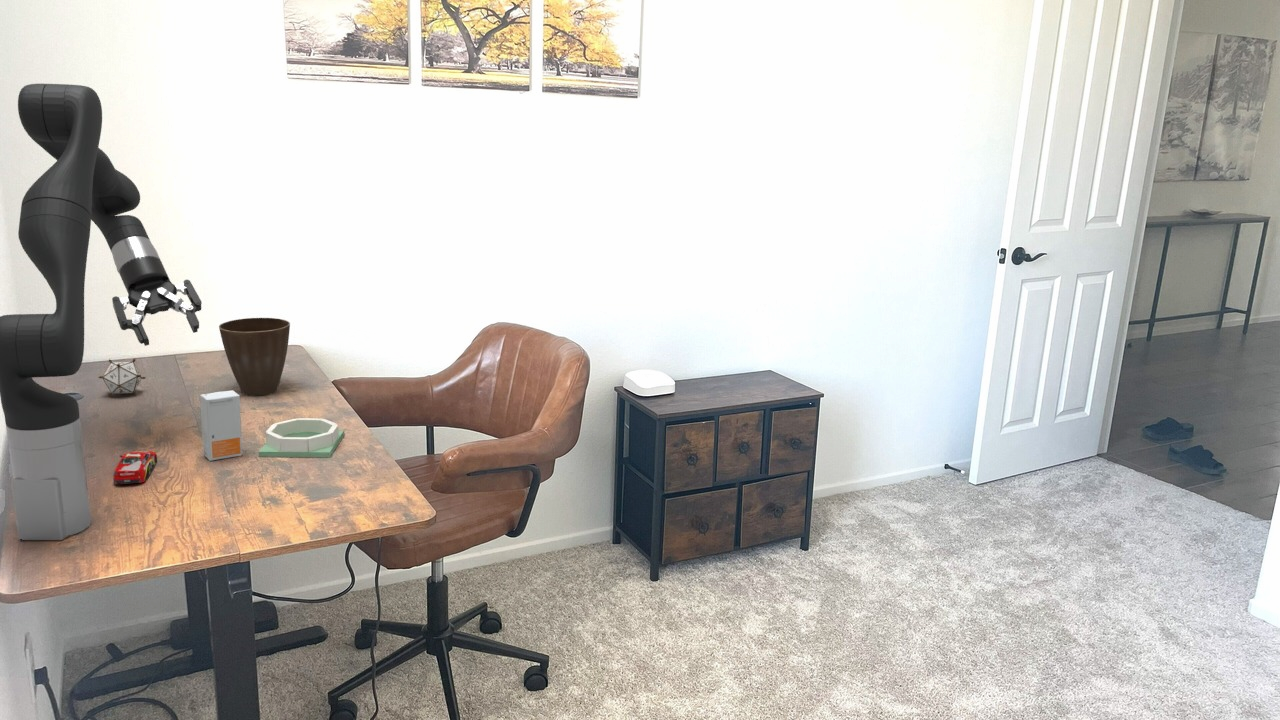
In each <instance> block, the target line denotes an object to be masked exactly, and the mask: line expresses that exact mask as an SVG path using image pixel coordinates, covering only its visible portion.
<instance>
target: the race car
mask: <svg viewBox="0 0 1280 720" xmlns="http://www.w3.org/2000/svg"><path fill="white" fill-rule="evenodd" d="M157 457H158V455H157V453H156V452H155V451H153V450H133V451H132V452H128V453H127V452H126V453H124V454H123V455H122V454H121V455H119V458H120V459H119V462H118V464H117V466H116V467H115V469H114V471H113V484H115V485H126V484H127V485H128V484H138V483H140V484H141V483H144V482H146V480H147V481H148V479H149V477H150V476H151V473H152V472H153V469H155V466H156V465H157V462H158V458H157Z"/></svg>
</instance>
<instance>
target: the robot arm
mask: <svg viewBox="0 0 1280 720" xmlns="http://www.w3.org/2000/svg"><path fill="white" fill-rule="evenodd" d="M17 110H18V111H17V112H18V117H19V120H20V123H21V125H22V127H23V129H24V131H25V132H26V133H27V135H28V136H29V137H30V138H31V140H32V141H34V142H35V144H37V145H38V146H40V147H41V148H42V149H43V150H44V151H45V152H46V153H48V154H49V155H50V156H51V157H53V159H55V160H56V162H54V164H52V166H51V167H48V169H46V171H45V172H44V173H43V174H41V176H39V177H38V178H37V179H36V181H34V183H32V185H30V187H29V188H28V190H27V191H26V192H25V194H24V195H23V198H22V201H21V205H20V213H19V214H20V215H19V222H18V223H19V224H18V235H17V236H18V241H19V243H20V245H21V247H22V250H23V251H24V253H25V254H26V255H27V256H28V257H27V258H28V259H29V260H30V261H31V262H32V264H33V265H34V267H36V268H37V270H38V271H39V272H40V274H41V275H42V277H43V278H44V279H45V281H46V283H47V284H48V286H49V288H50V289H51V291H52V293H53V295H54V298H55V303H56V304H55V311H54V312H53V313H25V314H24V313H20V314H17V313H16V314H6V315H4V314H3V315H1V316H0V404H1V408H2V412H3V415H4V421H5V423H4V424H5V427H6V434H7V441H8V444H7V445H8V450H9V451H8V453H9V458H10V467H11V474H12V480H11V482H10V485H11V493H12V500H13V507H14V508H13V509H14V515H15V523H16V529H17V531H16V532H17V536H18V537H17V539H18V540H19V539H22V540H21V541H62V540H64V539H66V538H67V537H69V536H68V535H70V536H73V535H76V534H78V533H80V532H83V531H85V530H86V529H88V527H90V525H91V523H92V519H91V518H92V516H91V507H90V498H89V489H88V481H87V480H88V479H87V472H86V464H85V463H86V462H85V454H84V453H85V452H84V446H83V445H84V444H83V436H82V435H83V433H82V427H81V426H82V425H81V418H80V408H79V403H78V401H77V399H76V398H74V397H73V396H71V395H69V394H65V393H61V392H57V391H55V390H52V389H49V388H46V387H44V386H42V385H41V384H39V383H37V382H36V381H34V379H33V378H57V377H58V378H59V377H69V376H73V375H75V374H76V373H77V372H78V371H79V370H80V368H81V366H82V364H83V363H82V362H83V361H84V360H83V358H84V353H85V352H84V351H85V283H86V270H87V261H88V259H87V258H88V253H89V252H88V251H89V245H90V244H89V243H90V237H91V225H92V222H93V223H94V224H95V226H96V227H97V228H98V229H99V231H100V232H101V234H102V235H103V237H104V238H105V241H106V243H107V245H108V248H109V249H110V253H111V256H112V260H113V262H114V264H115V267H116V271H117V273H118V274H119V276H120V279H121V281H122V283H123V285H124V287H125V289H126V292H127V294H128V295H127V296H126V297H119V296H116V295H115V296H113V297H112V299H111V300H112V301H111V302H112V307H113V309H114V313H115V316H116V319H117V323H118V324H119V325H118V326H119V327H120V330H122V331H127V330H132V331H134V333H135V336H136V339H137V341H138V343H139V344H140V345H141V344H142V345H144V346H145V347H146V346H150V340H149V337H148V335H147V333H146V331H145V328H144V326H143V324H142V323H143V322H144V321H145V319H146V316H147V315H149V314H150V315H151V316H152V315H155V314H158V313H159V312H162V313H163V312H167V311H169V310H170V309H171V310H173V311H175V312H177V313H181V314H183V315H185V316H186V317H185V318H186V320H187V322H188V325H189V326H190V329H191V331H192V333H193V334H194V333H198V329H200V321H199V319H198V317H197V315H196V313H197V312H200V311H202V304H203V303H202V300H201V298H200V296H199V294H198V292H197V291H196V290H195V289H196V288H195V287H194V285H193V283H192V282H191V280H190V279H184V280H183V282H182V283H179V284H174V283H172V281H171V279H170V278H169V276H168V273H167V271H166V269H165V267H164V264H163V261H162V260H161V257H160V256H159V253H158V252H157V249H156V248H155V247H154V245H153V244H152V242H151V240H150V237H149V235H148V232H147V230H146V228H145V227H144V224H143V223H142V221H141V220H140V218H138V217H136V216H134V215H131V214H124V213H127V212H132V211H134V210H135V209H136V208H137V207H139V204H140V202H141V195H140V194H141V193H140V191H139V189H138V187H137V186H136V184H135V183H134V182H133V180H131V179H130V177H128V176H127V175H126V174H124V173H123V172H121V171H120V170H117V168H115V166H114V164H113V163H112V161H111V159H110V158H109V156H108V155H107V154H106V152H104V151H103V149H101V148H99V147H100V140H101V135H102V134H101V133H102V129H103V108H102V103H101V99H100V97H99V95H98V93H97V92H96V91H95V89H94V88H92V87H89V86H86V85H80V84H67V83H66V84H64V83H63V84H62V83H30V84H26V85H24V86H23V87H22V88H21V89H20V91H19V93H18V96H17ZM123 214H124V215H123ZM178 292H179V293H181V294H182V295H184V296H187V298H188V300H189V302H190V303H191V304H190V303H189V302H187V301H184V300H183V299H182V298H181V297H180V296H177V293H178ZM128 304H129V306H130V305H131V306H133V307H134V308H136V309H135V311H134V314H133V317H132V319H129V318H128V319H127V316H126V313H125V310H126V309H127V308H128V307H127V305H128Z"/></svg>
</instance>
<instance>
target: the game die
mask: <svg viewBox="0 0 1280 720" xmlns="http://www.w3.org/2000/svg"><path fill="white" fill-rule="evenodd" d="M108 362H109V363H110V364H109V365H108V367H107V368H106V370H105V372H104V373H103V375H99V376H98V379H102V380H103V382H104V383H105V385H106V387H107V389H108V390H109V392H110V393H109V395H108V396H109V398H111V397H112V396H113V394H114V395H115V394H116V395H117V394H133V396H135V395H136V396H137V393H136V390H137V388H138V387H139V384H140V383H141V381H142V380H145V379H146V377H145V376H142V375H141V373H140V371H139V369H138V368H137V365H136V363H135V362H136V358H133V359H132V360H131V361H112V360H111V359H110V358H109V359H108Z"/></svg>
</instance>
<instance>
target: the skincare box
mask: <svg viewBox="0 0 1280 720" xmlns="http://www.w3.org/2000/svg"><path fill="white" fill-rule="evenodd" d="M199 402H200V415H201V416H200V418H201V420H200V421H201V431H202V432H201V433H202V434H201V435H202V436H201V437H202V449H203V450H202V451H203V455H204V457H206V459H208V461H209V462H213V461H215V460H217V461H218V460H222V459H227V458H228V459H230V458H235V457H242V456H243V440H242V439H243V438H242V437H243V436H242V435H243V434H242V420H241V419H242V417H241V396H240V394H238V393H237V392H235V390H223V391H215V392H211V393H210V392H209V393H204V394H203V393H202V394H199Z"/></svg>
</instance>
